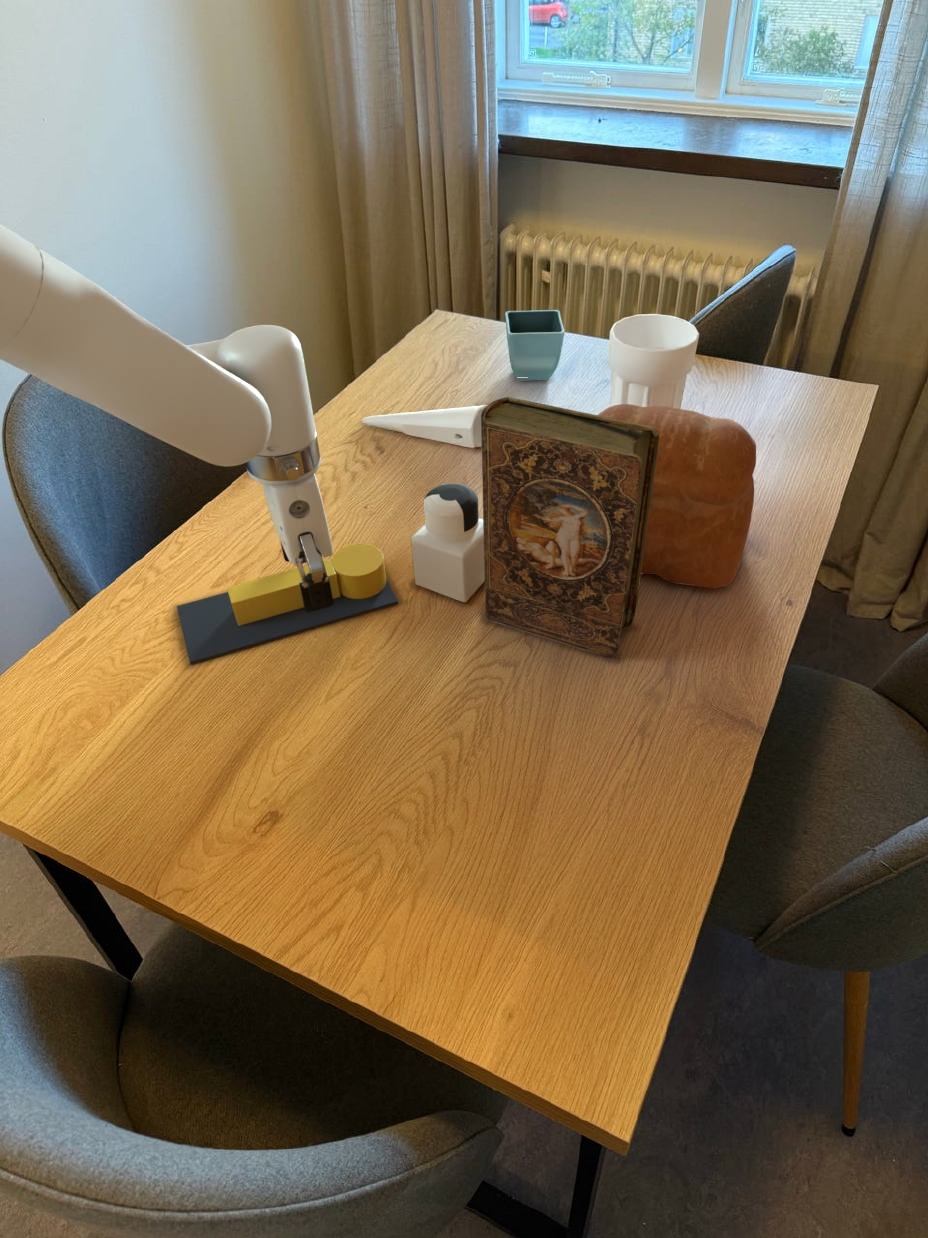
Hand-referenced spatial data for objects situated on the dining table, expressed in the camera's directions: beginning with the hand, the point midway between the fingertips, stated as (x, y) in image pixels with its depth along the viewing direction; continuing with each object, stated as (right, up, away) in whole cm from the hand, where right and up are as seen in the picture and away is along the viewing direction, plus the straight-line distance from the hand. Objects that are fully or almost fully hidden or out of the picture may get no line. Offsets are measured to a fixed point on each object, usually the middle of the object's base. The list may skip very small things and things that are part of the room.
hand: (308, 581), depth 96 cm
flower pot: (+29, +36, +41) cm, 62 cm away
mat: (-3, -3, +1) cm, 4 cm away
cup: (+43, +20, +24) cm, 53 cm away
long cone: (+12, +24, +29) cm, 40 cm away
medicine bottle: (+17, +1, +4) cm, 17 cm away
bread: (+41, +5, +7) cm, 42 cm away
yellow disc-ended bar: (0, -2, +2) cm, 2 cm away
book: (+28, -5, -2) cm, 29 cm away
